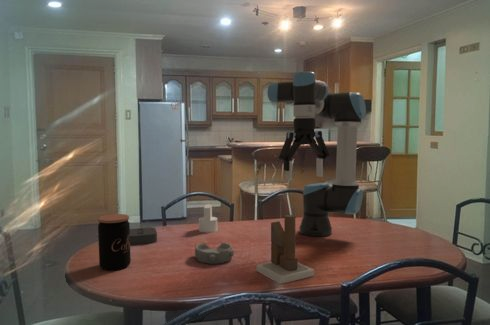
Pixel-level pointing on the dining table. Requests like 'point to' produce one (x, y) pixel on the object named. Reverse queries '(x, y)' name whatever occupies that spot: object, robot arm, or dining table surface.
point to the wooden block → (284, 244)
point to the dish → (213, 253)
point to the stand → (284, 272)
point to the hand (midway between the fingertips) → (304, 178)
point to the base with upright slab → (208, 221)
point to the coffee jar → (114, 242)
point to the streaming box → (143, 236)
